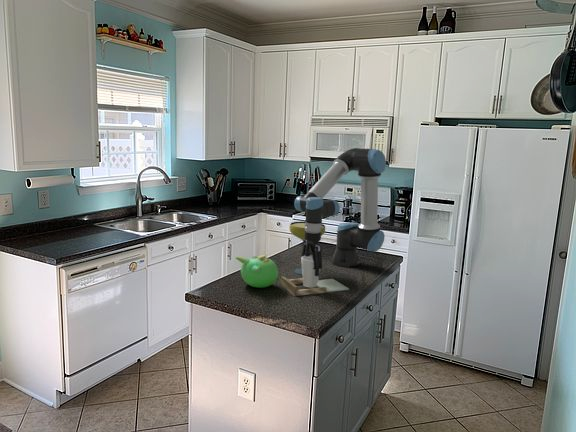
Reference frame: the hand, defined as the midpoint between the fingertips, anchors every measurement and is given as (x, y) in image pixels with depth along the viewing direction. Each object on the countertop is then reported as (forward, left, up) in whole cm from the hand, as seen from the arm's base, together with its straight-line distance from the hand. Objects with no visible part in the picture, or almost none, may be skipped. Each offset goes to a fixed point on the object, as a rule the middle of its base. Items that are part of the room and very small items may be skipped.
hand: (310, 278), depth 205 cm
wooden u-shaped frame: (+4, 0, -4) cm, 6 cm away
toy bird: (+23, -8, -5) cm, 24 cm away
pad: (-10, 0, -4) cm, 11 cm away
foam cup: (0, 0, -3) cm, 3 cm away
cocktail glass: (-8, -22, -4) cm, 24 cm away
